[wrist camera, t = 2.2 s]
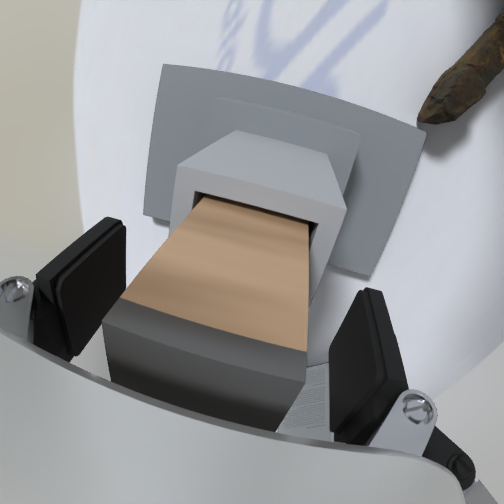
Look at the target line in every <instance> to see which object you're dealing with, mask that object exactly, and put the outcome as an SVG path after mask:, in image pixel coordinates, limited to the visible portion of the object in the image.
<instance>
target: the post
mask: <svg viewBox="0 0 504 504" xmlns="http://www.w3.org/2000/svg"><path fill="white" fill-rule="evenodd" d="M308 296H309V235H308V220H305V219H301V218H298V217H294V216H291V215H287V214H283V213H280V212H276V211H272V210H269V209H265V208H261V207H258V206H254V205H250V204H246V203H242V202H238V201H235V200H231V199H227V198H223V197H219V196H215V195H211V194H206V195H205V196H204V197H203V199H202V200H201V201H200V202H199V203H198V204H197V205H196V206H195V208H194V209H193V210H192V211H191V212H190V213H189V214H188V215H187V217H186V218H185V219H184V220H183V221H182V222H181V224H180V225H179V226H178V227H177V228H176V229H175V230H174V232H173V233H172V234H171V235H170V236H169V237H168V239H167V240H166V241H165V242H164V243H163V245H162V246H161V247H160V248H159V249H158V251H157V252H156V253H155V254H154V255H153V257H152V258H151V259H150V260H149V261H148V263H147V264H146V265H145V266H144V267H143V269H142V270H141V271H140V272H139V274H138V275H137V276H136V277H135V279H134V280H133V281H132V282H131V284H130V285H129V286H128V287H127V289H126V290H125V291H124V292H123V294H122V295H121V296H120V298H119V299H118V300H117V301H116V303H115V304H114V305H113V307H112V308H111V309H110V311H109V312H108V313H107V314H106V316H105V317H104V318H103V320H102V329H103V336H104V343H105V348H106V355H107V361H108V366H109V372H110V377H111V382H113V383H115V384H118V385H120V386H123V387H125V388H128V389H130V390H133V391H135V392H138V393H141V394H143V395H146V396H149V397H151V398H154V399H157V400H160V401H163V402H166V403H169V404H171V405H175V406H178V407H181V408H184V409H187V410H190V411H193V412H197V413H200V414H203V415H207V416H210V417H214V418H218V419H221V420H225V421H229V422H233V423H237V424H241V425H245V426H249V427H253V428H258V429H262V430H267V431H272V432H276V430H277V429H278V427H279V425H280V424H281V422H282V421H283V419H284V418H285V416H286V414H287V413H288V411H289V410H290V408H291V406H292V405H293V403H294V401H295V400H296V398H297V396H298V395H299V393H300V391H301V390H302V388H303V386H304V385H305V383H306V368H307V341H308Z"/></svg>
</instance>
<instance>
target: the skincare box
mask: <svg viewBox="0 0 504 504" xmlns="http://www.w3.org/2000/svg"><path fill="white" fill-rule="evenodd" d="M277 433H281V434H287V435H292V436H298V437H304V438H310V439H316V440H323V441H329V442H334V433H333V432H330V429H329V363H325V364H321V365H317V366H312V367H308V368H306V383H305V385H304V386H303V388H302V390H301V391H300V393H299V395H298V396H297V398H296V400H295V401H294V403H293V405H292V406H291V408H290V410H289V411H288V413H287V414H286V416H285V418H284V419H283V421H282V422H281V424H280V425H279V427H278V432H277ZM336 443H339V442H336Z"/></svg>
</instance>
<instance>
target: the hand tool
mask: <svg viewBox="0 0 504 504" xmlns="http://www.w3.org/2000/svg"><path fill="white" fill-rule="evenodd" d="M503 68H504V12H503V13H502V14H500V15H499V16H498V18H496V20H495V22H494V23H493V25H492V26H490V27H489V28H488V29H487V30H486V31H485V32H484V33H483V35H482V36H481V37H480V38H479V39H478V40H477V41H476V42H475V43H474V44H473V45H472V46H471V48H470V49H468V50H467V52H466V53H465V54H464V55H463V56H462V57H461V58H460V59H459V60H458V61H457V62H456V63H455V64H454V65H453V66H452V67H451V68H449V69H448V70H446V71H445V72H444V73H443V74H442V75H441V77H440V78H439V79H438V81H437V82H436V83H435V85H434V86H433V88H432V90H431V92H430V93H429V95H428V97H427V98H426V100H425V102H424V104H423V106H422V108H421V110H420V112H419V114H418V117H417V120H418V121H420V122H422V123H429V124H436V125H437V124H440V123H445V122H450V121H455V120H456V119H457V118H458V117H459V116H461V115H462V114H463V113H464V112H466V110H467V109H469V108H470V107H471V106H472V105H474V104H475V103H476V102H478V101H479V100H480V99H481V98H482V97H483V96H484V95H485V93H486V89H485V88H486V87H487V86H488V85H489V83H490V82H491V81H492V80H493V79H494V77H495V76H496V75H497V74H499V73H500V72H501V71H502V69H503Z"/></svg>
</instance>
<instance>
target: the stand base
mask: <svg viewBox="0 0 504 504" xmlns="http://www.w3.org/2000/svg"><path fill="white" fill-rule="evenodd" d="M426 135H427V132H425V131H423V130H420V129H418V128H416V127H413V126H411V125H409V124H406V123H404V122H401V121H399V120H396V119H394V118H391V117H389V116H386V115H383V114H381V113H378V112H375V111H373V110H370V109H367V108H364V107H361V106H359V105H356V104H353V103H350V102H347V101H343V100H340V99H337V98H334V97H331V96H327V95H324V94H320V93H317V92H313V91H310V90H306V89H302V88H299V87H295V86H291V85H287V84H283V83H278V82H274V81H270V80H265V79H261V78H256V77H251V76H246V75H240V74H235V73H229V72H223V71H217V70H210V69H203V68H196V67H188V66H179V65H169V64H163V67H162V72H161V77H160V82H159V88H158V94H157V99H156V106H155V112H154V119H153V125H152V132H151V140H150V148H149V156H148V165H147V175H146V185H145V196H144V209H143V215H146V216H150V217H154V218H158V219H161V220H165V221H169V222H170V227H169V236H170V235H171V234H172V233H173V232H174V230H175V229H176V228H177V227H178V226H179V225H180V224H181V222H182V221H183V220H184V219H185V218H186V217H187V215H188V214H189V213H190V212H191V211H192V210H193V209H194V208H195V206H196V205H197V204H198V203H199V202H200V201H201V200H202V199H203V197H204V196H205V195H206V194H211V195H215V196H219V197H223V198H227V199H231V200H235V201H238V202H242V203H246V204H250V205H254V206H258V207H261V208H265V209H269V210H272V211H276V212H280V213H283V214H287V215H291V216H294V217H298V218H301V219H305V220H308V235H309V296H308V308H309V306H310V304H311V301H312V299H313V296H314V294H315V292H316V289H317V287H318V284H319V282H320V279H321V277H322V274H323V272H324V269H325V267H326V264H328V265H331V266H335V267H338V268H342V269H346V270H349V271H353V272H356V273H360V274H364V275H367V276H371V274H372V272H373V270H374V268H375V266H376V263H377V261H378V259H379V257H380V255H381V252H382V250H383V248H384V246H385V243H386V241H387V239H388V237H389V234H390V232H391V229H392V227H393V225H394V222H395V220H396V217H397V215H398V213H399V210H400V208H401V205H402V203H403V200H404V197H405V195H406V192H407V190H408V187H409V184H410V182H411V179H412V176H413V173H414V171H415V168H416V165H417V162H418V159H419V156H420V153H421V150H422V147H423V144H424V141H425V138H426Z"/></svg>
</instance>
